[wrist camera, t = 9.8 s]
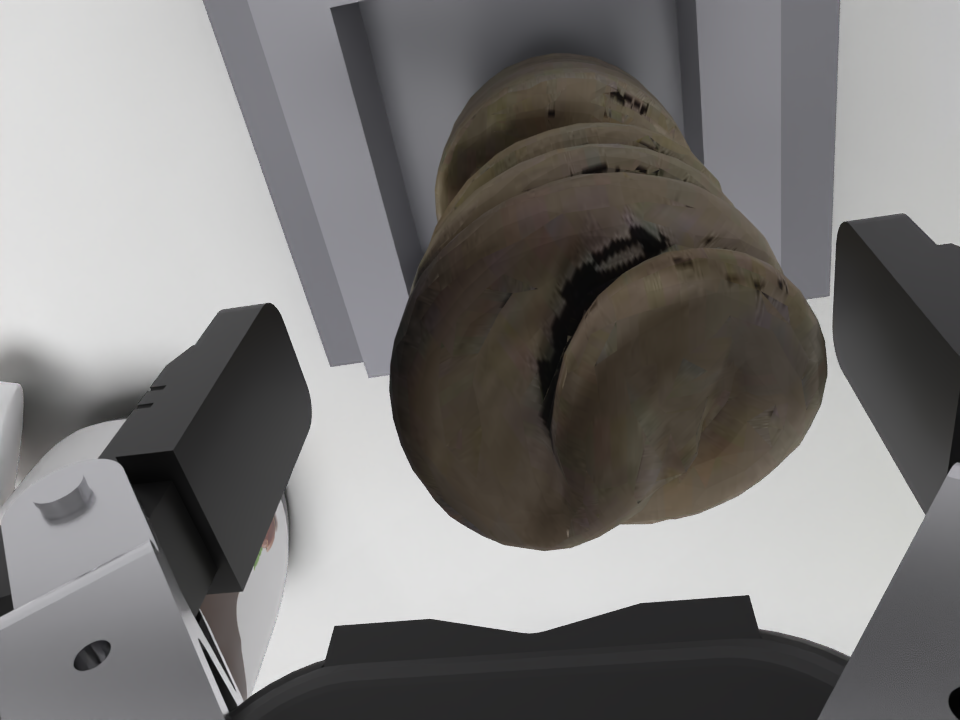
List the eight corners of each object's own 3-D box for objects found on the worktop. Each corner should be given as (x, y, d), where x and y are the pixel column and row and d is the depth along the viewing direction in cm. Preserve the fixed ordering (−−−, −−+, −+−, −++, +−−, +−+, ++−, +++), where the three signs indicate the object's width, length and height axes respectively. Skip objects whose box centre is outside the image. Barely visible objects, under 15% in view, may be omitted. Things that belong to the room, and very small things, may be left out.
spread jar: (317, 577, 33) (229, 877, 24) (62, 584, 35) (-124, 873, 25) (246, 330, 27) (85, 597, 17) (-63, 347, 28) (-381, 609, 18)
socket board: (837, -271, 18) (905, -298, 15) (821, 284, 25) (864, 346, 22) (177, -111, 20) (109, -104, 17) (335, 354, 27) (309, 420, 24)
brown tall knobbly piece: (662, -10, 20) (895, 217, 7) (667, 196, 23) (843, 615, 10) (442, 23, 21) (312, 285, 8) (473, 219, 24) (415, 639, 11)
